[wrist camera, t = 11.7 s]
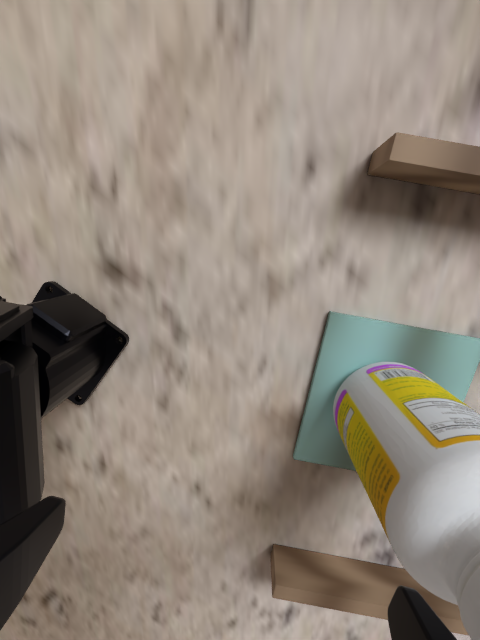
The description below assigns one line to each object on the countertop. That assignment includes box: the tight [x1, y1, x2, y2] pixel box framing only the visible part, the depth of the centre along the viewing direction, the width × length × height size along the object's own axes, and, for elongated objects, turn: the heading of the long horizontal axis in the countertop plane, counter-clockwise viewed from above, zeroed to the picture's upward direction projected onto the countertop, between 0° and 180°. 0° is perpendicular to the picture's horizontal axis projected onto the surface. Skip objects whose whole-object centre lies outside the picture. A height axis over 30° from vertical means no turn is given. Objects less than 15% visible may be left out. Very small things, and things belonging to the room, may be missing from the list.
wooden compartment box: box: [271, 133, 480, 635], centre depth 19 cm, size 21×30×3 cm
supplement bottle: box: [333, 362, 480, 640], centre depth 14 cm, size 7×7×13 cm
